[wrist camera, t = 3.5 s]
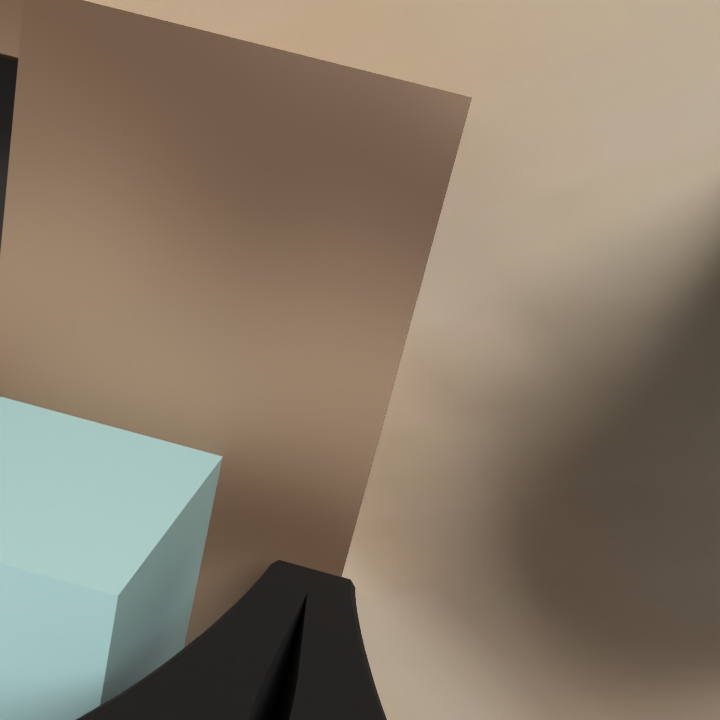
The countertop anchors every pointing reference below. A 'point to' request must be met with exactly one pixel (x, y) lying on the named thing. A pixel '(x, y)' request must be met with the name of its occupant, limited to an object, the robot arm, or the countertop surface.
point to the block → (93, 558)
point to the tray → (216, 260)
